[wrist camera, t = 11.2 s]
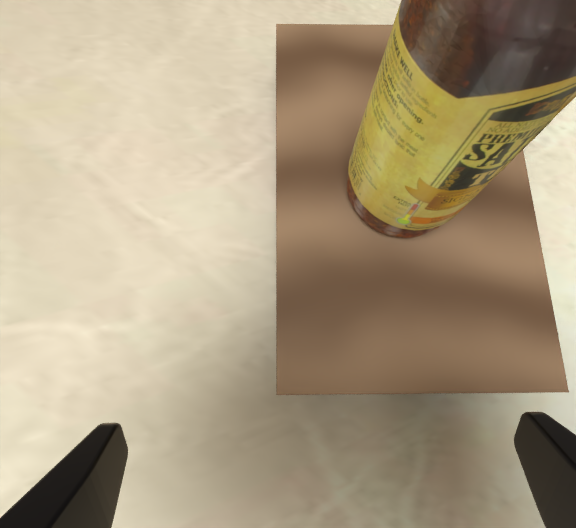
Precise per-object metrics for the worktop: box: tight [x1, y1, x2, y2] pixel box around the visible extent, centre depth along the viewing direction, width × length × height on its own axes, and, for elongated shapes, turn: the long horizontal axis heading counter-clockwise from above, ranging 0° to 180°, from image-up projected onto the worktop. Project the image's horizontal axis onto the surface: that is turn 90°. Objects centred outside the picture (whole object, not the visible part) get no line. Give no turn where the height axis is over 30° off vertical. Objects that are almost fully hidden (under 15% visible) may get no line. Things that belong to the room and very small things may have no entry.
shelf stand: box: [276, 24, 569, 395], centre depth 24 cm, size 22×14×3 cm, turn 0°
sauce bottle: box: [347, 0, 576, 238], centre depth 13 cm, size 6×6×20 cm
